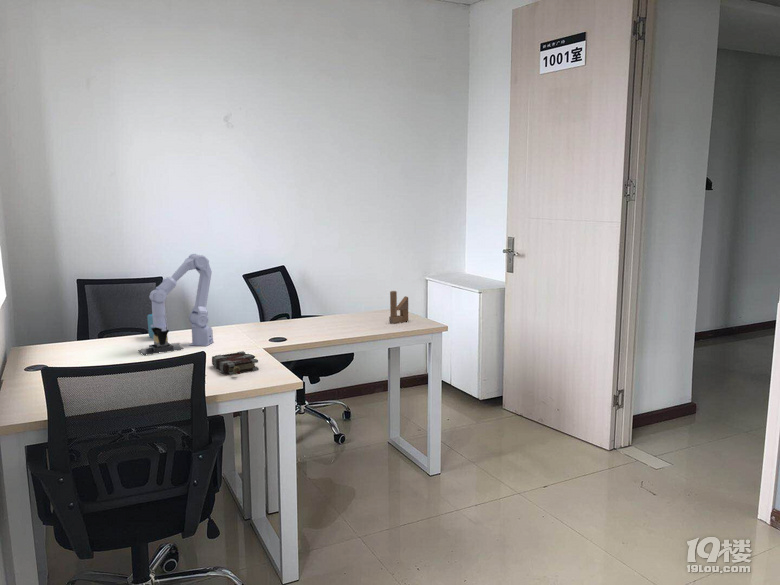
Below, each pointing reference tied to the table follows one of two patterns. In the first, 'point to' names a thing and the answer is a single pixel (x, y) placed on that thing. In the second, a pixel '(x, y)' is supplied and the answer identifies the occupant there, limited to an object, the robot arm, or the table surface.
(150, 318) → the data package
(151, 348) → the shaft rig
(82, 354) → the table surface
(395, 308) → the brown wooden bracket
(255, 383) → the table surface
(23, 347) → the table surface
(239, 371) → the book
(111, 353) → the table surface
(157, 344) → the coupler
